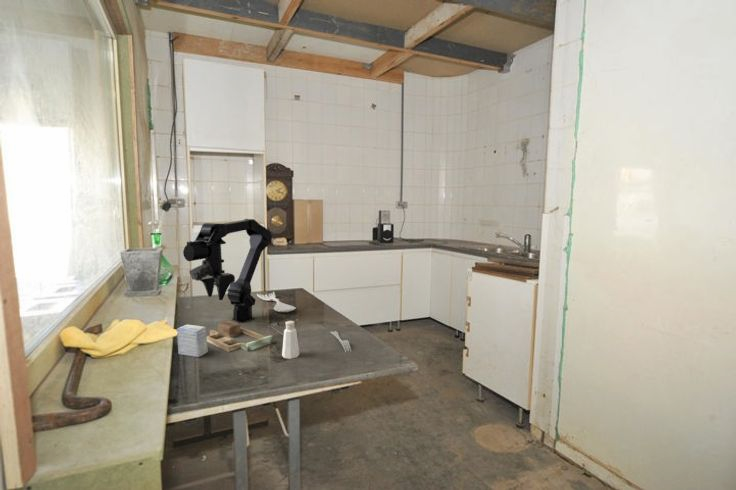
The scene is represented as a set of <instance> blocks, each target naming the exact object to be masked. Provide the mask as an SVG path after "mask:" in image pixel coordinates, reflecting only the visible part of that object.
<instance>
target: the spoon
mask: <svg viewBox="0 0 736 490" xmlns="http://www.w3.org/2000/svg"><path fill="white" fill-rule="evenodd" d="M256 296H257V297H258V298H260V299H261V300H263V301H266V302H267V301H268V302H270V301H273V302H275V303H276V304H275V305H274V307H273V311H276V312H279V313H289V312H292V311H295V310H296V309H297V307H295V306H293V305H290V304H288V303H284V302H281V301H280V298H276V293H275V291H272V292H270V293H268V295H267V293H266V294H265V295H264V294H263V293H262V294H258V293H256Z"/></svg>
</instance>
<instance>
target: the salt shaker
mask: <svg viewBox="0 0 736 490" xmlns="http://www.w3.org/2000/svg"><path fill="white" fill-rule="evenodd" d="M284 324H285V329H284V337H282V350H281V356H282V357H283V359H287V360H288V359H289V360H292V359H297V358H298V356H300V347H299V341H298V340H299V339H298V333H297V329H296V328H295V321H294V320H288V321H285V323H284Z"/></svg>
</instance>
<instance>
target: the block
mask: <svg viewBox="0 0 736 490" xmlns="http://www.w3.org/2000/svg"><path fill="white" fill-rule="evenodd" d="M240 327H241V324H239V323H237V322H234V321H231V320H227V321H223V322H219V323H217V332H219V333H220V336H222V337H226V336H228V337H231V338H234V337H238V336H241V332H240Z"/></svg>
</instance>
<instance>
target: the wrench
mask: <svg viewBox="0 0 736 490" xmlns="http://www.w3.org/2000/svg"><path fill="white" fill-rule="evenodd" d="M265 327H266V328H272V329H273V330H275V331H277V332H278V333H279V334H281V335H282V336H283V337H284V330H285V329H284V328H282V327H281V326H279V324H278V322H277V321H272V322H271V323H270V322H266V324H265ZM283 337H282V338H283Z"/></svg>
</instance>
